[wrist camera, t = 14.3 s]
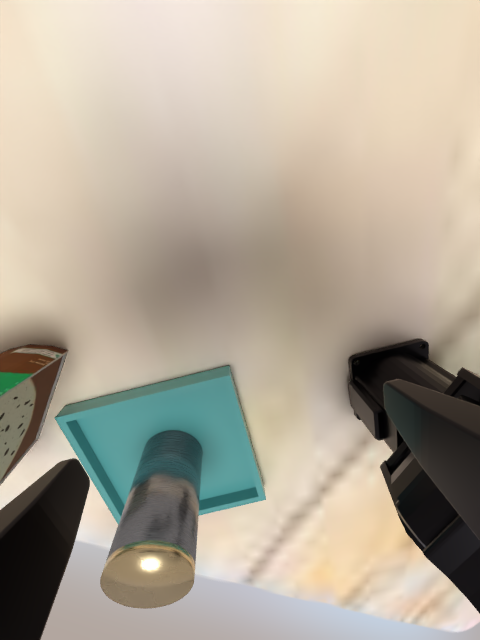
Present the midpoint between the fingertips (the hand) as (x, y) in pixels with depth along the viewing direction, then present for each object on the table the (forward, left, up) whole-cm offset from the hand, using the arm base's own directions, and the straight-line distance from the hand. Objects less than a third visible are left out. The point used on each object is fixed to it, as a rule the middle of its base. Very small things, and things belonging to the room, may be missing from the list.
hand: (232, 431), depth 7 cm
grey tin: (+8, +12, -12) cm, 19 cm away
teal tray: (+8, +12, -13) cm, 19 cm away
